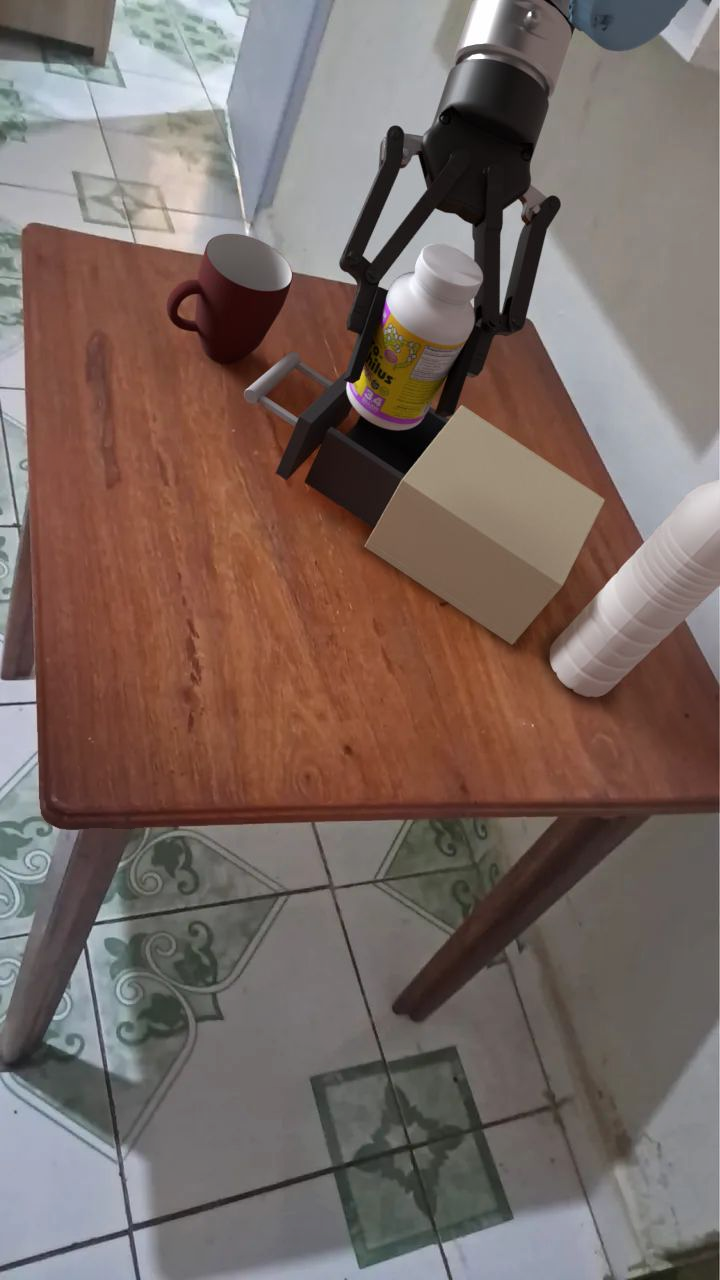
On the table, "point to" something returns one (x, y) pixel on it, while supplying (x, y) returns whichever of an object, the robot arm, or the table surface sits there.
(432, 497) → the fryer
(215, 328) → the mug
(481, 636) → the table surface
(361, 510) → the dark grey drawer
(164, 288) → the table surface
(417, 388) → the supplement bottle
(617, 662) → the water bottle
